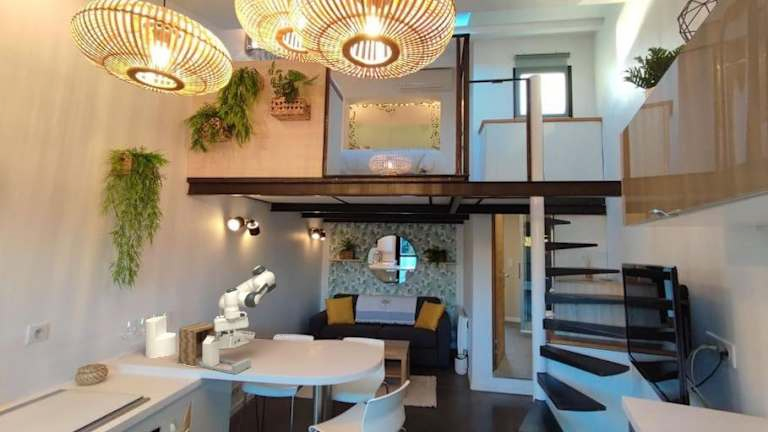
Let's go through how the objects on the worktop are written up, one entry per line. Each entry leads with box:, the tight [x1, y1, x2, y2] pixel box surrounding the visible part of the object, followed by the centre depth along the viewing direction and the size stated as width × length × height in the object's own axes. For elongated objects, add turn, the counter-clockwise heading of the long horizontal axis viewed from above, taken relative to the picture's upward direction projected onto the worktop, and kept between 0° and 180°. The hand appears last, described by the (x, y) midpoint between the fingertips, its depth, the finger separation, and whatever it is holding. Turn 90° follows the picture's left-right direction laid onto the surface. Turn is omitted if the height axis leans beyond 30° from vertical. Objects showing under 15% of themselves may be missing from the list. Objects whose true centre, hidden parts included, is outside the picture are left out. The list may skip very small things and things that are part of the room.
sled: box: [198, 358, 252, 375], centre depth 240 cm, size 32×12×5 cm, turn 65°
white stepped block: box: [145, 315, 177, 359], centre depth 268 cm, size 19×19×25 cm
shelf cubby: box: [178, 322, 216, 367], centre depth 250 cm, size 14×16×24 cm
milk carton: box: [202, 335, 220, 366], centre depth 244 cm, size 7×7×19 cm
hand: (231, 336), depth 237 cm, fingers closed
